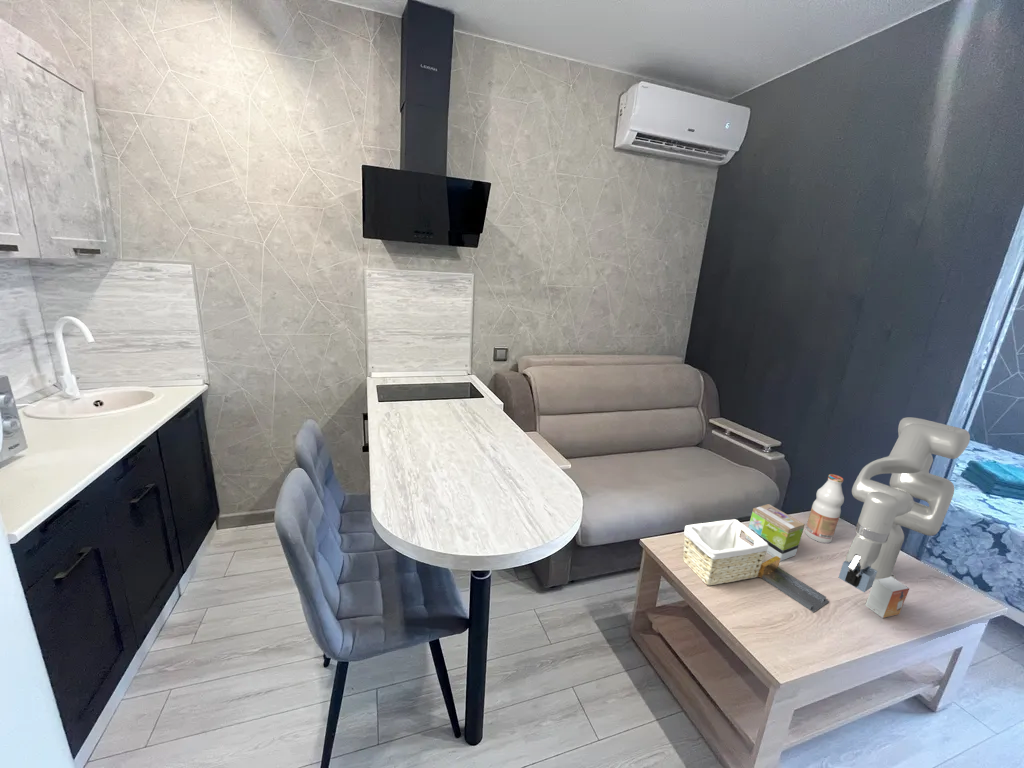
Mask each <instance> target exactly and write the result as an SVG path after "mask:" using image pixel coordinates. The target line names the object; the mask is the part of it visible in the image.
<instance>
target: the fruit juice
mask: <svg viewBox="0 0 1024 768" xmlns="http://www.w3.org/2000/svg"><path fill="white" fill-rule="evenodd" d="M843 482H844V478H843V477H842V476H840V475H838V474H833V473H830V474H828V476H827V480H826V482H825V483H824V484H823V485H822V486H821V487H820V488H818V489H817V491H816V496H815V497H816V499H815V500H814V501H813V502H812V505H811V509H810V513H809V516H808V519H807V523H806V524H805V525H806V526H805V528H804V529H805V530H804V531H805V534H806V536H807V537H809V538H810V539H811V540H813V541H815V542H818V543H822V544H830V543H832V541H833V538H834V535H835V531H836V529H837V525H838V523H839V519H840V516H841V512H842V510H841V506H842V505H843V504H844V503H845V502H844V501H845V497H844V493H843V488H842V484H843Z"/></svg>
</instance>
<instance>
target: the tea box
mask: <svg viewBox="0 0 1024 768" xmlns="http://www.w3.org/2000/svg"><path fill="white" fill-rule="evenodd" d="M805 525H806V524H805V523H803V522H801V521H799V520H798V519H796V518H794V517H792V516H791V515H789V514H787V513H785V512H784V511H782V510H780V509H778V508H777V507H774V505H771V504H770V503H768V504H763V505H760V506H758V507H753V508H752V512H751V515H750V520H749V523H748V526H747V527H748V528H749V529H750V530H752V531H753V532H754V533H756V534H757V535H758V536H759V537H761V538H762V539H763V540H764V541H765V542H767V543H768V549H767V551H766V554H767V555H770V556H771V557H772V558H773V557H775V556H777V557H779V558H781V559H780V562H781V561H784V560H786V559H790V558H792V557H794V556H796V554H797V551H798V548H799V546H800V541H801V539H802V535H803V532H804V529H805V527H806V526H805ZM745 539H746V540H748V541H749V542H751V543H752V544H754V541H753V540H751V538H749V537H748V536H746V535H745Z"/></svg>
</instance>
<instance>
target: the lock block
mask: <svg viewBox="0 0 1024 768" xmlns="http://www.w3.org/2000/svg"><path fill="white" fill-rule="evenodd" d="M851 563H852V561H850V562H847V561H846V560H845V561H843V562H842V566H841V568H840V572H839V575H838V578H839V579H840V580H842V581H843V582H845V583H847V584H849V583H848V582H846V581H845V578H846V575H847V572H848V568H849V566H850V564H851ZM858 565H859V566H860V564H858ZM856 570H857V571H858V570H859V568H857V567H856ZM876 574H877V571H876V570H874V569H873V568H871V567H869V566H868V567H867V568H865V569H863V570H862V572H861V574H860V576H861V578H860V581H859V584H858V586H857V587H855V586H853V585H851V584H849V585H850V586H853V587H854V588H856V589H857V590H859V591H860V592H863V593H866V592H867V591H869V590H871V588H872V585H873V582H874V579H875V577H876Z"/></svg>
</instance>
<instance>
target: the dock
mask: <svg viewBox="0 0 1024 768" xmlns="http://www.w3.org/2000/svg"><path fill="white" fill-rule="evenodd" d="M780 559H781V558H779V557H777V556H775V557H773V556H772V557H771V558H770V559H768V560H765V561H764V562H762V564H761V567H760V570H759V573H758V575H757V576H758V578H761V579H762V580H763V581H765V582H767V584H770V585H772V586H773V587H774V588H775V589H777V590H779V591H780V592H782V593H783V594H785V595H786V596H788V597H789V598H791V599H792V600H793V601H795V602H796V603H799V604H800V605H801V606H803V607H805V608H806V609H807V610H809V611H811V612H812V613H815V612H816V611H818V610H820V609H821V608H823V607H824V606H825V605H827V604H828V603H830V601H829V600H828V599H827V596H826V595H824V594H823V593H821V592H820V591H817V590H816V589H814V588H813V587H811V586H809V585H808V584H806V583H805V582H803V581H801V580H800V579H798V578H797V577H795V576H793V575H791V574H790V573H788V572H787V571H785V570H783V569H782V568H780V567H779V565H780V562H781V561H780Z"/></svg>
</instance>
